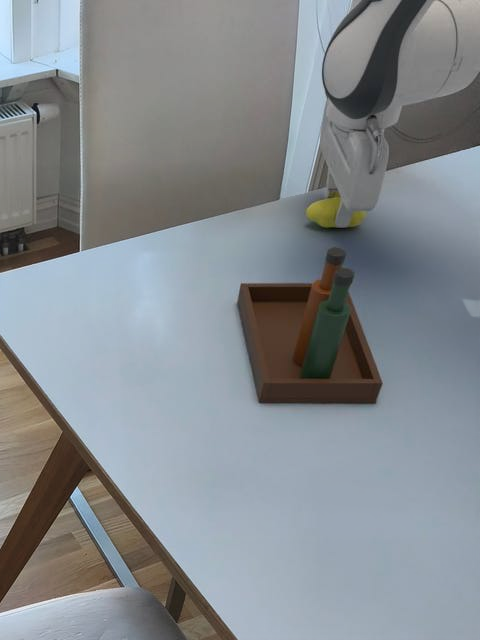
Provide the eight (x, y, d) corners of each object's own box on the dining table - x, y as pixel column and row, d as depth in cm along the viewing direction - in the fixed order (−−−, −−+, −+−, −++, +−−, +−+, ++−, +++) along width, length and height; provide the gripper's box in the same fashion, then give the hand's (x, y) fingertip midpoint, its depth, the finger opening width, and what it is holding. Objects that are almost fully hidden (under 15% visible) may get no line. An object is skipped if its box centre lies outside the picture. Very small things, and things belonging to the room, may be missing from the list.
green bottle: (325, 373, 99) (357, 264, 89) (330, 390, 97) (364, 280, 87) (296, 373, 99) (325, 264, 89) (301, 390, 97) (331, 280, 87)
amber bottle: (319, 352, 102) (349, 243, 92) (323, 368, 100) (356, 259, 90) (290, 352, 102) (318, 243, 92) (295, 368, 100) (324, 259, 90)
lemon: (363, 235, 119) (372, 206, 116) (303, 231, 121) (310, 203, 118) (361, 220, 122) (369, 191, 119) (302, 217, 123) (308, 188, 120)
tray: (339, 302, 109) (345, 282, 107) (375, 403, 96) (382, 383, 94) (237, 302, 110) (240, 283, 108) (258, 402, 97) (263, 382, 95)
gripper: (411, 136, 102) (375, 251, 113) (373, 71, 115) (344, 180, 126) (356, 136, 103) (326, 251, 114) (324, 72, 116) (300, 180, 126)
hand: (335, 213), depth 120 cm, fingers open, 5 cm apart
